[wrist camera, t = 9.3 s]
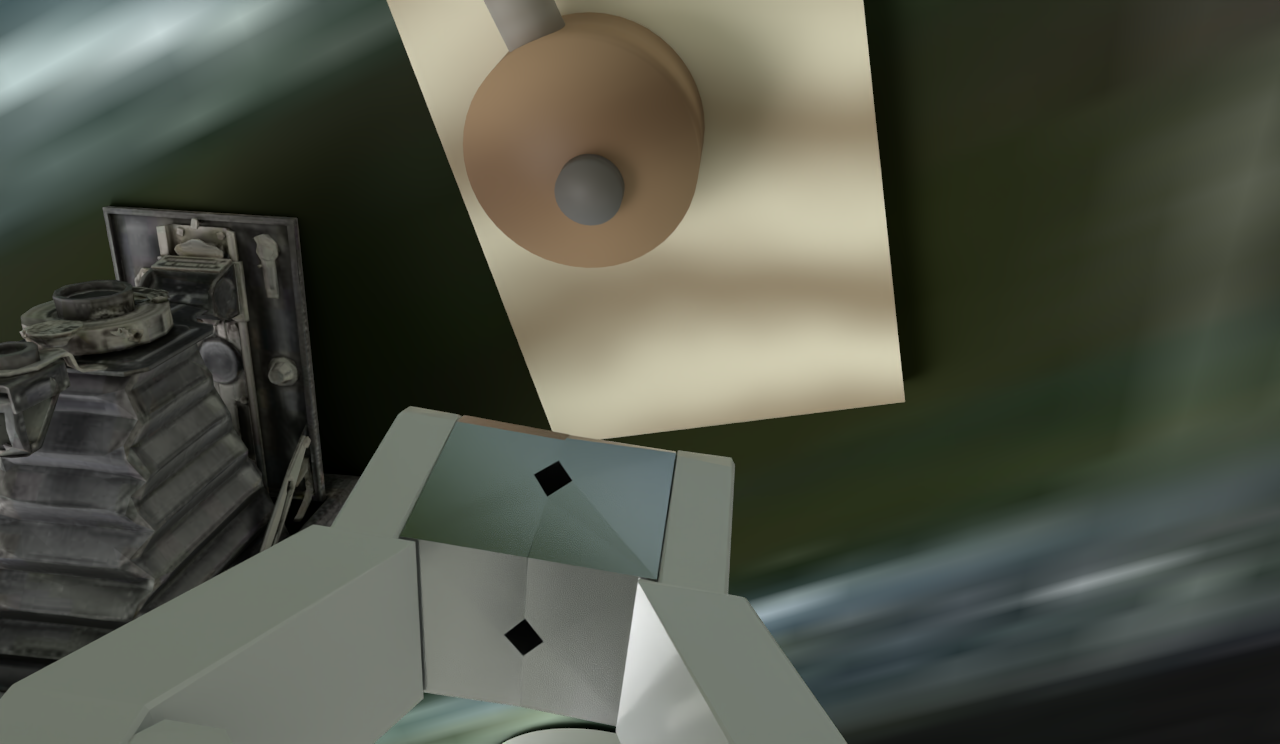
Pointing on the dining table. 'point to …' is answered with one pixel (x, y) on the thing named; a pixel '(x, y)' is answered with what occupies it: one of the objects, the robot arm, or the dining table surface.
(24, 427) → the camera
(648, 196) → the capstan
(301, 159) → the dining table surface
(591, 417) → the board
